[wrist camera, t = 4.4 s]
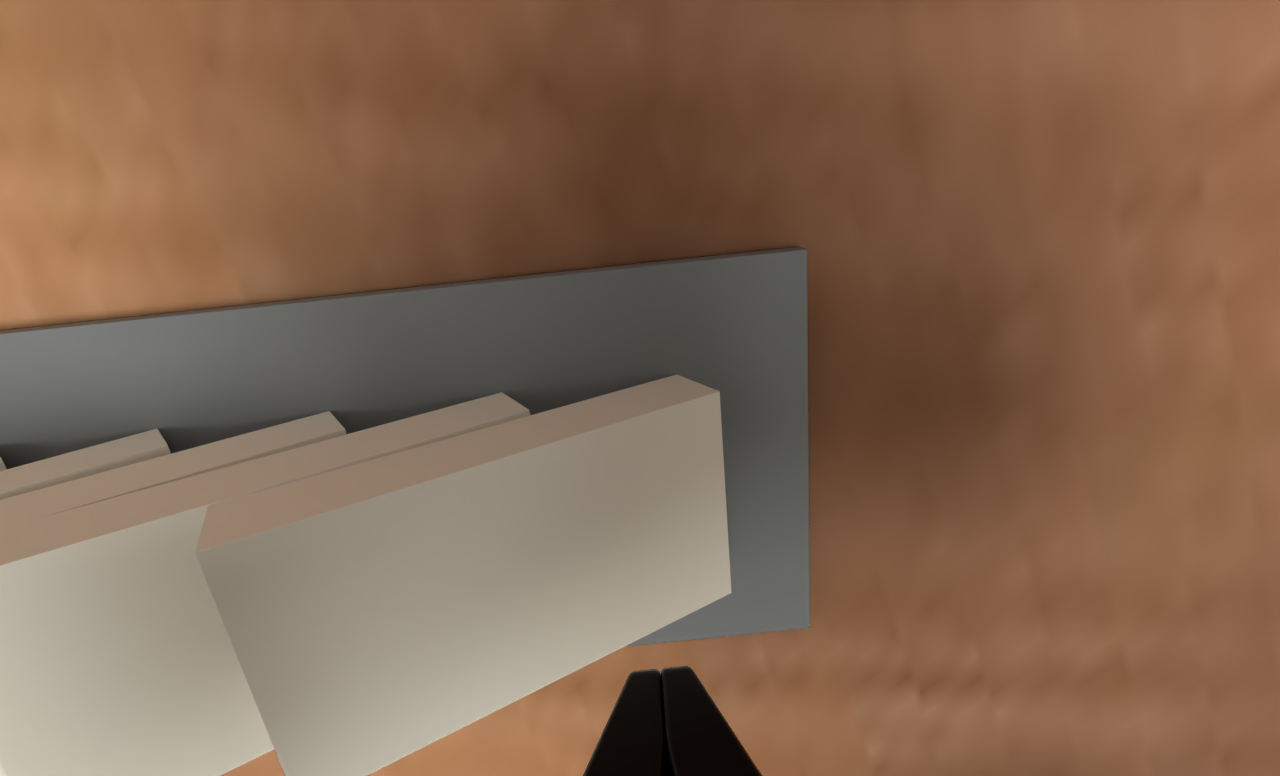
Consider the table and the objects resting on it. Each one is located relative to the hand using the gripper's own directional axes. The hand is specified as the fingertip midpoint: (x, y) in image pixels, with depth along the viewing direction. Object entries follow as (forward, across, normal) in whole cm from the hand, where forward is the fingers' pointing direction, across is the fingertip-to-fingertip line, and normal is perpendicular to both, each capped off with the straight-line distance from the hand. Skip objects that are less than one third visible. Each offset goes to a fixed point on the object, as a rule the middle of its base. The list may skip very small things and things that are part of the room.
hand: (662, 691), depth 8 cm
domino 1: (+6, -1, 0) cm, 6 cm away
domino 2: (+6, +3, 0) cm, 6 cm away
